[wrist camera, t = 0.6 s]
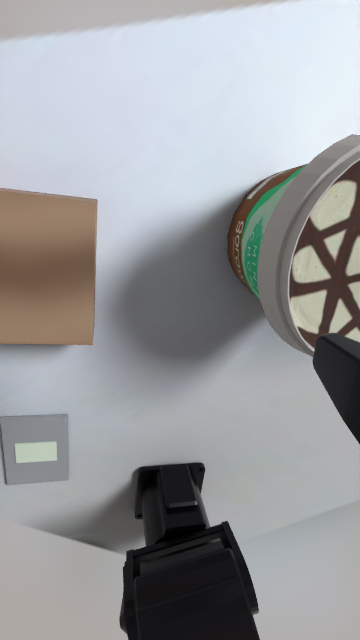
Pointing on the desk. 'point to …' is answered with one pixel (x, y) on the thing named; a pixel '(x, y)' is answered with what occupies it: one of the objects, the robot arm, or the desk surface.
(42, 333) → the walnut block
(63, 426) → the card
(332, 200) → the food container
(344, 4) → the desk surface
